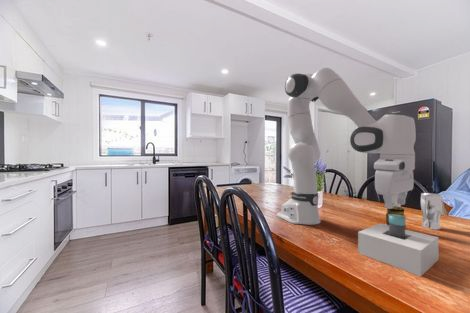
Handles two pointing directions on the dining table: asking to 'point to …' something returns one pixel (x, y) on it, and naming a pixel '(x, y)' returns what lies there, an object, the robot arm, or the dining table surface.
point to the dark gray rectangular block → (397, 226)
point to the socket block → (399, 248)
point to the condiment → (394, 211)
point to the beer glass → (431, 210)
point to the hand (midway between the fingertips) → (395, 206)
